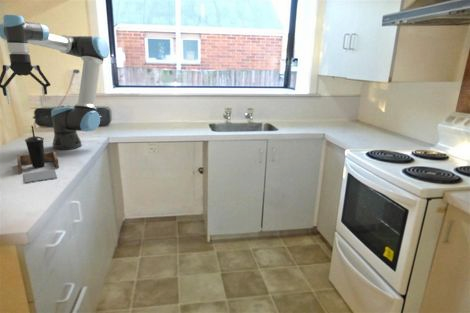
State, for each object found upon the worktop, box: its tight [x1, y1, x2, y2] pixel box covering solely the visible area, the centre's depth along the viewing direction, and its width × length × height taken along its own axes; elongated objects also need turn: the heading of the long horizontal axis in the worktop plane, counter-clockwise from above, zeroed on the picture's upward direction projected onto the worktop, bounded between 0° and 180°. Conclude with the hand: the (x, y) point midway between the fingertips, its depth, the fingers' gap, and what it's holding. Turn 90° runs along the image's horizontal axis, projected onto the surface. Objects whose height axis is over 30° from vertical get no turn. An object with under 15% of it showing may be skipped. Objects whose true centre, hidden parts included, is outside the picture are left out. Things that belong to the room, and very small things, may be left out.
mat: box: [23, 168, 58, 184], centre depth 144 cm, size 12×12×1 cm
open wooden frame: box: [16, 151, 60, 175], centre depth 156 cm, size 16×15×4 cm
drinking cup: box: [24, 125, 45, 169], centre depth 154 cm, size 8×8×20 cm
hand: (27, 102), depth 148 cm, fingers open, 13 cm apart
